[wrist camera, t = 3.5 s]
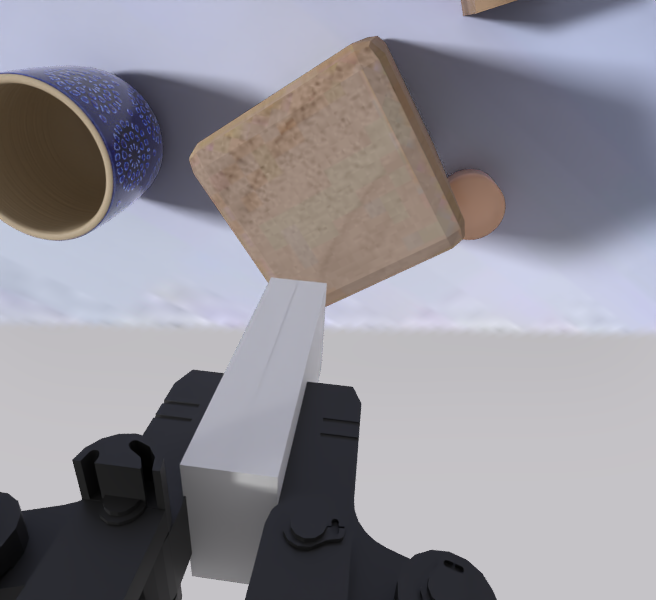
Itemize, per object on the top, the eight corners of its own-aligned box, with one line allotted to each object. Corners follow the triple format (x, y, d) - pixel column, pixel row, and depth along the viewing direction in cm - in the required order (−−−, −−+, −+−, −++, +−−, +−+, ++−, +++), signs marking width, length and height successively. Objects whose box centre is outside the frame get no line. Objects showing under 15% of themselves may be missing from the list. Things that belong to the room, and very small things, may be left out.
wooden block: (437, 151, 40) (476, 246, 23) (330, 208, 43) (291, 330, 26) (379, 29, 36) (372, 29, 19) (267, 101, 40) (172, 159, 22)
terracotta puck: (431, 224, 43) (435, 236, 40) (441, 166, 41) (445, 175, 38) (490, 229, 43) (497, 242, 40) (503, 171, 40) (512, 181, 38)
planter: (201, 123, 41) (143, 153, 31) (140, 219, 46) (73, 271, 36) (83, 28, 38) (-20, 28, 29) (31, 140, 43) (-72, 173, 33)
